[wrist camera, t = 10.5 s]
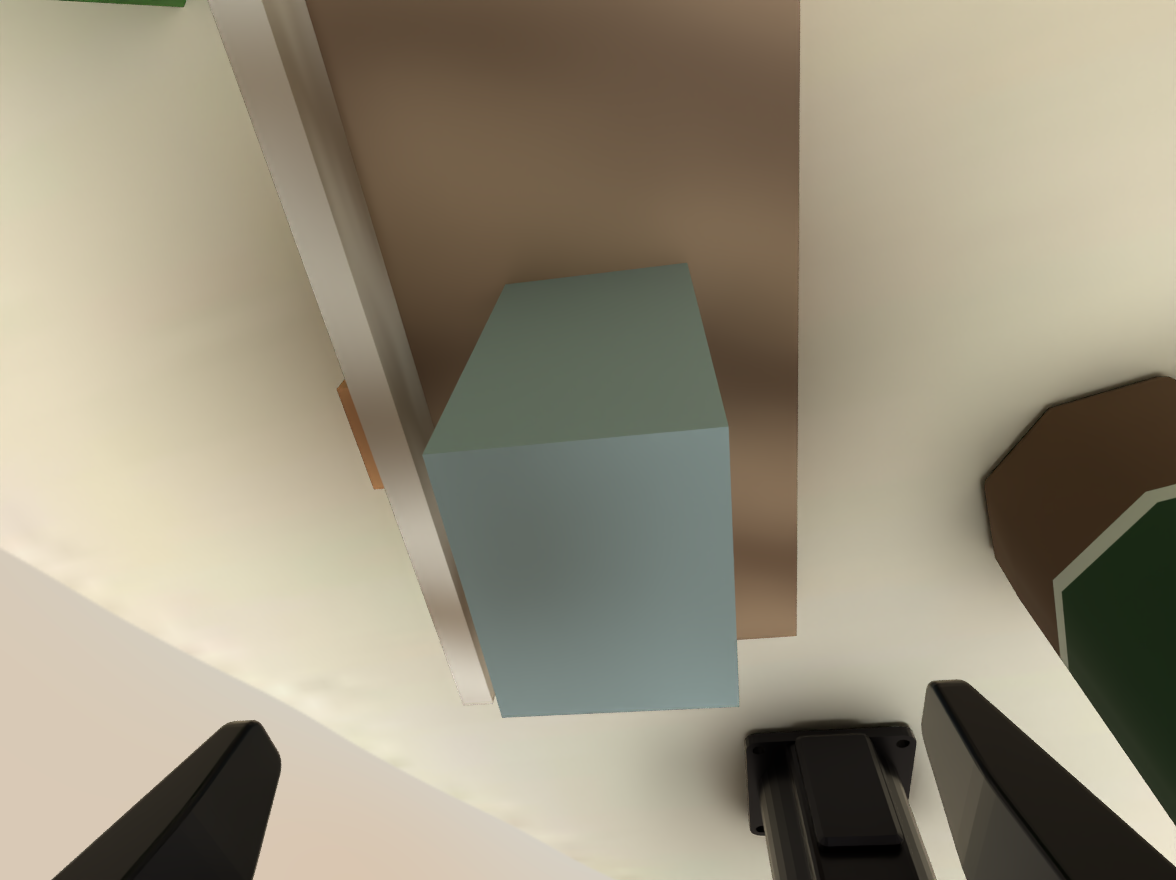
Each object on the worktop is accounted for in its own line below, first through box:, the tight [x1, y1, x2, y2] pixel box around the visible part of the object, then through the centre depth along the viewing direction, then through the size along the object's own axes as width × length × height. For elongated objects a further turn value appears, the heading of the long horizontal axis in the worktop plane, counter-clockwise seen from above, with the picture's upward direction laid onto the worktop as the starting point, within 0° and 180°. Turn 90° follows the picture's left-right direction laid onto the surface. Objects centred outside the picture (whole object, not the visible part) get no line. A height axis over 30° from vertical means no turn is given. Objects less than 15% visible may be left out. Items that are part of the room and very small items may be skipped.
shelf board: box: [208, 0, 800, 705], centre depth 18 cm, size 20×11×4 cm, turn 8°
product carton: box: [422, 263, 739, 718], centre depth 15 cm, size 5×6×8 cm
